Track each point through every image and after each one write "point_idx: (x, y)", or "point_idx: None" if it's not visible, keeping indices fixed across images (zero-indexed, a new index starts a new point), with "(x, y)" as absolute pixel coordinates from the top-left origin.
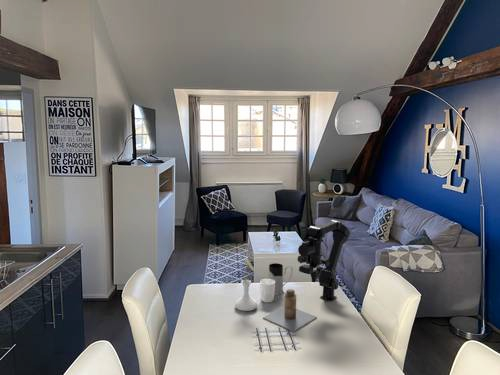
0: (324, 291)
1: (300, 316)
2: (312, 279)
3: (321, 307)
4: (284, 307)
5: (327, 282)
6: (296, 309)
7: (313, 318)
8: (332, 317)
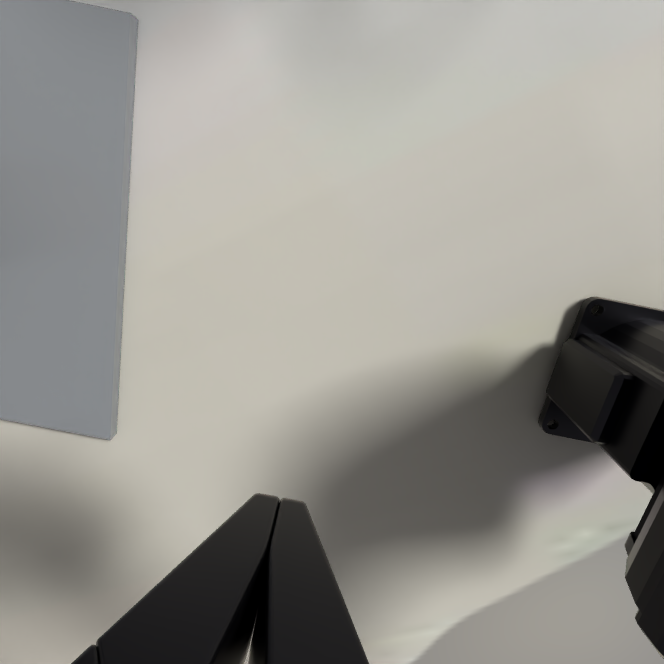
0: (606, 400)
1: (2, 305)
2: (207, 551)
3: (351, 393)
4: (49, 24)
5: (659, 589)
6: (108, 193)
7: (60, 426)
8: None
